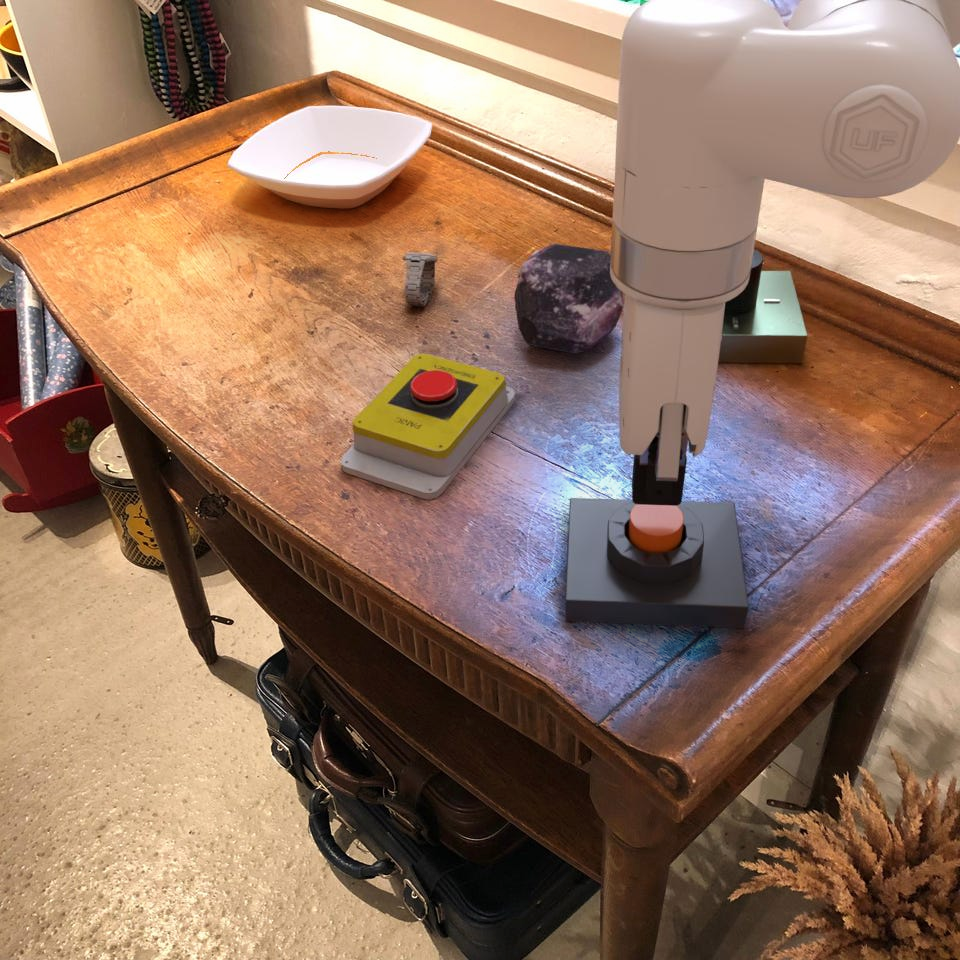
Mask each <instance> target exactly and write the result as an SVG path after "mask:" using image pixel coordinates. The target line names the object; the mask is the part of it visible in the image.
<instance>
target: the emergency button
mask: <svg viewBox="0 0 960 960" xmlns="http://www.w3.org/2000/svg"><path fill="white" fill-rule="evenodd" d="M516 398H517V397H516V391H515V389H514V388H513V387H510V386H507V383H506V379H505V376H504V375H503V374H502V373H500V372H497V371H493V370H489V369H486V368H481V367H478V366H474V365H470V364H467V363H462V362H459V361H456V360H452V359H449V358H445V357H441V356H437V355H433V354H429V353H418V354H416V355H414V356H413V357H412V358H410V360H409V361H408V362H407V363H406V364H405V365H404V366H403V367H402V368H401V369H400V370H399V371H398V372H397V374H395V376H393V378H392V379H391V380H390V381H388V383H387V384H386V385H385V386H384V387H383V388H382V389H381V390H380V391H379V392H378V393H377V394H376V395H375V396H374V397H373V399H371V401H369V402H368V403H367V404H366V405H365V407H364V408H363V409H362V410H361V411H360V412H359V413H357V415H356V416H355V417H354V418H353V420H352V430H353V445H351V447H349V448H348V449H347V450H346V452H345V453H344V454H343V455H342V457H341V459H340V465H341V470H342V471H343V472H345V474H347V475H351V476H354V477H357V478H360V479H363V480H366V481H369V482H372V483H375V484H378V485H382V486H385V487H387V488H390V489H393V490H396V491H399V492H401V493H405V494H409V495H411V496H415V497H416V498H420V499H423V500H434V499H437V498H438V497H441V495H442V494H443V493H444V491H445V490H446V489H447V488H448V487H449V486H450V484H451V483H452V481H453V480H454V479H455V478H456V476H457V475H458V474H459V473H460V472H461V470H462V469H463V468H464V467H465V465H466V464H467V463H468V461H470V459H471V458H472V456H474V454H475V453H476V452H477V450H478V449H479V447H480V446H481V445H482V444H483V442H485V440H486V439H487V437H488V436H489V435H490V434H491V433H492V431H493V430H494V429H495V427H496V426H497V425H498V424H499V423H500V421H501V420H502V419H503V417H504V416H505V415H506V413H508V412H509V410H510V408H511V407H512V406H513V405H514V403H515V402H516Z"/></svg>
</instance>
